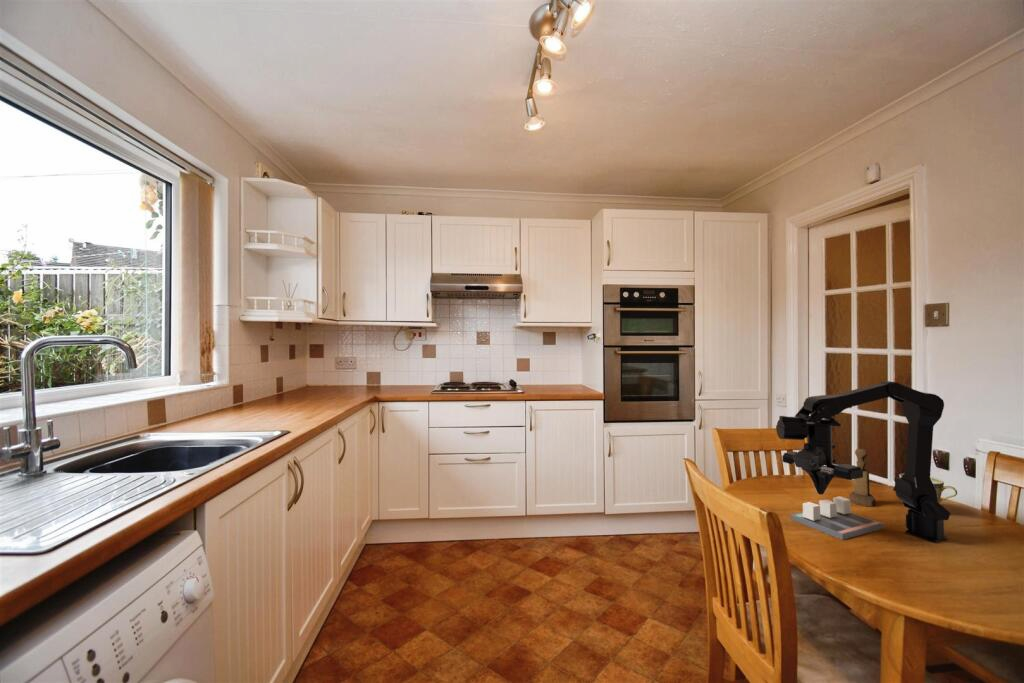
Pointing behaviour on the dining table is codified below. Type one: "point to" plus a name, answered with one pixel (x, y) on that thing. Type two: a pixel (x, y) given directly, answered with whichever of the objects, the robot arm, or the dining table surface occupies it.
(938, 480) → the ceramic cup
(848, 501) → the white block
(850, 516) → the breaker panel
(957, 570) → the dining table surface
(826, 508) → the handle
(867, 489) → the brown statuette
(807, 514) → the handle
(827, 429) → the robot arm
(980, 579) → the dining table surface
